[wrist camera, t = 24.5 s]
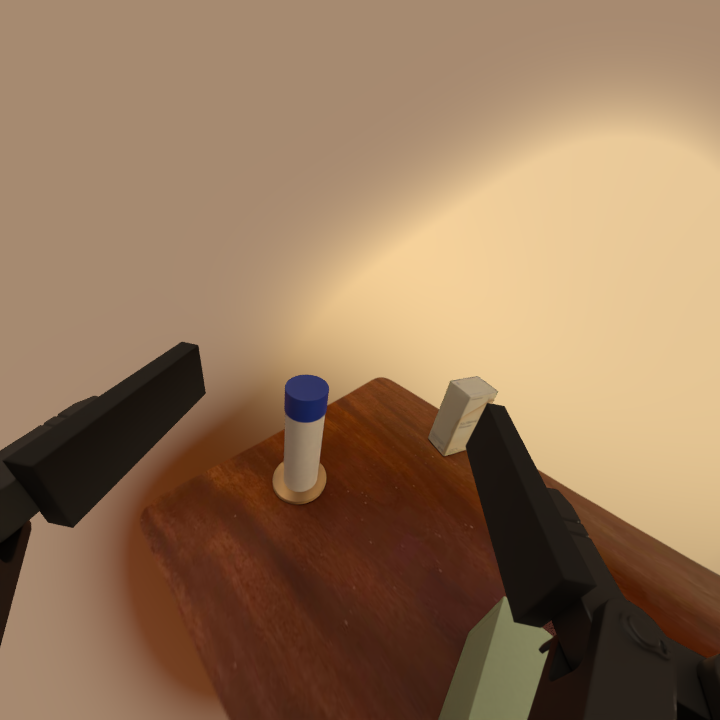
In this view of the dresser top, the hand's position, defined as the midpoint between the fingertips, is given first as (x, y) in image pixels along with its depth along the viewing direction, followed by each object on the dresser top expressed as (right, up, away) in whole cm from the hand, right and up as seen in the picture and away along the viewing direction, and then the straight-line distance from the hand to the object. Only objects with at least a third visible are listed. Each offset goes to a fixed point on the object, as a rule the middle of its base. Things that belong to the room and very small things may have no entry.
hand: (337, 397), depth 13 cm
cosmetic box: (+16, -13, +35) cm, 41 cm away
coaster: (-7, -14, +25) cm, 29 cm away
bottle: (-7, -14, +24) cm, 29 cm away
